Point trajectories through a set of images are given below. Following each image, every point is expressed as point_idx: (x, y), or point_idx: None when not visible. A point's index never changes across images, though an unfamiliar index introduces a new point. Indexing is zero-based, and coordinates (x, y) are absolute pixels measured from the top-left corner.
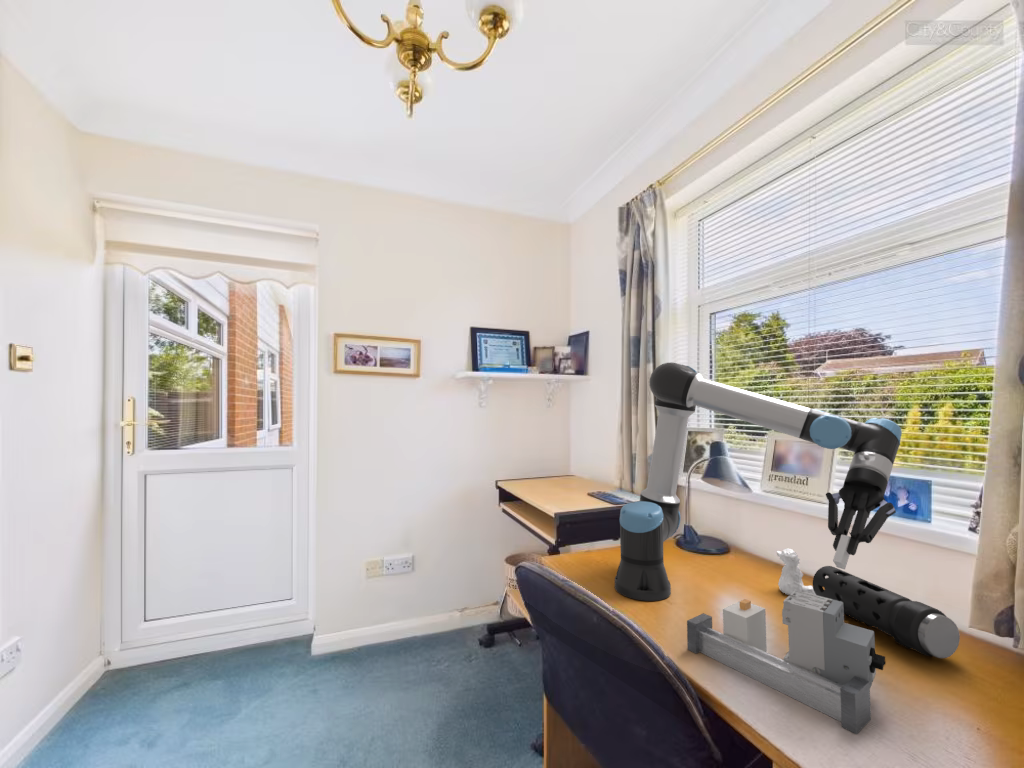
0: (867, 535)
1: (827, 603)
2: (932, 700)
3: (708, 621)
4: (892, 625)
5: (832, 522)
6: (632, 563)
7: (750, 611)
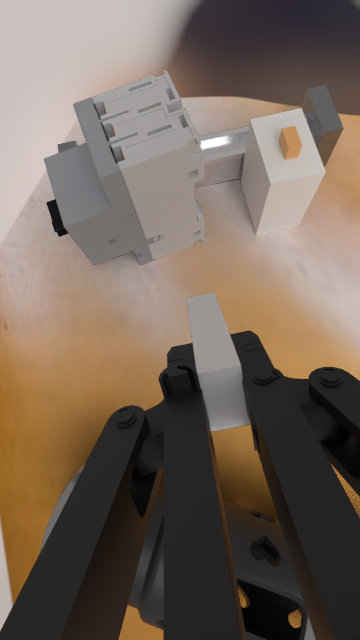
0: (109, 421)
1: (112, 140)
2: (60, 342)
3: (318, 127)
4: None
5: (353, 408)
6: None
7: (270, 146)
